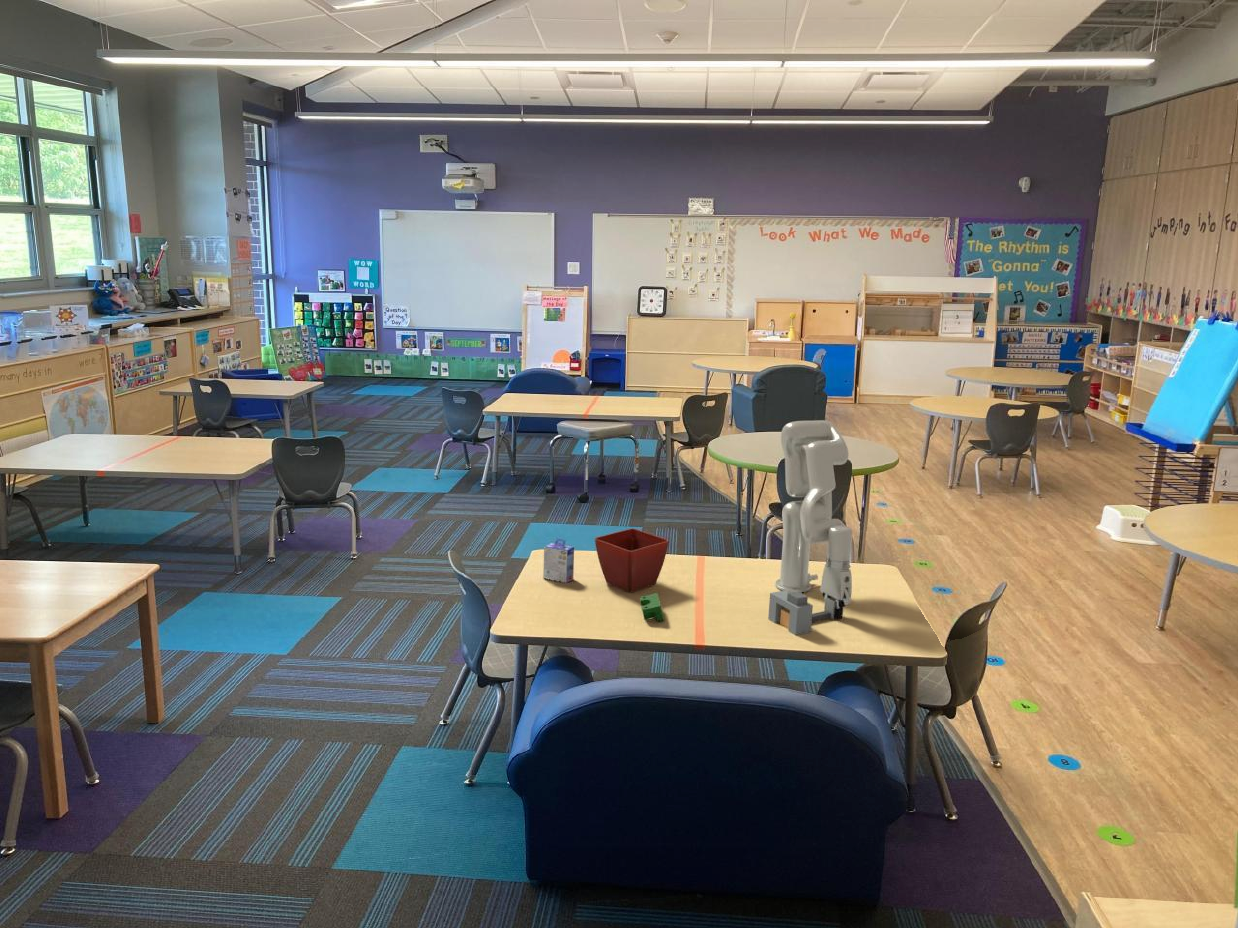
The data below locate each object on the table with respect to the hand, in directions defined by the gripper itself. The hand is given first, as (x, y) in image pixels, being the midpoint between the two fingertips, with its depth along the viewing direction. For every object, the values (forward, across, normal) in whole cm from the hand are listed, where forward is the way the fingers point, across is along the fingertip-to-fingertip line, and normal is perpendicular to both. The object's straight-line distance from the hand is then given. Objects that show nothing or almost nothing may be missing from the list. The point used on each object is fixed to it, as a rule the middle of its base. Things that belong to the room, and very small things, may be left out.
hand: (833, 615), depth 306 cm
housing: (0, 0, +18) cm, 18 cm away
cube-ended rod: (0, 0, +9) cm, 9 cm away
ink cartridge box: (0, +69, +68) cm, 96 cm away
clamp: (+1, +25, +54) cm, 60 cm away
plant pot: (0, +53, +47) cm, 71 cm away
